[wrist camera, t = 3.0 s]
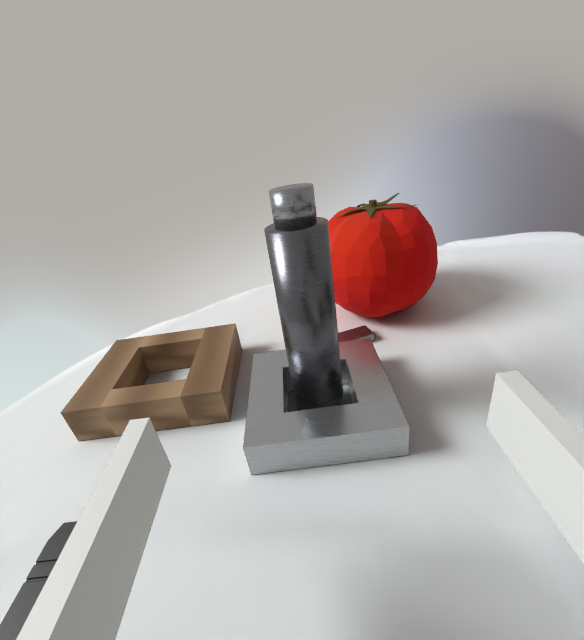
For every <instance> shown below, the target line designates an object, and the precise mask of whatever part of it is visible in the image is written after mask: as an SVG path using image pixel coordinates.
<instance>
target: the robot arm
mask: <svg viewBox="0 0 584 640" xmlns="http://www.w3.org/2000/svg"><path fill="white" fill-rule="evenodd" d="M486 427H487V429H488V430H489V432H490V433H491V434H492V436H493V437H494V439H495V440H496V441H497V443H498V444H499V446H500V447H501V449H502V450H503V451H504V453H505V454H506V456H507V457H508V458H509V460H510V461H511V463H512V464H513V465H514V467H515V468H516V470H517V471H518V472H519V474H520V475H521V477H522V478H523V479H524V481H525V482H526V484H527V485H528V487H529V488H530V489H531V491H532V492H533V494H534V495H535V496H536V498H537V499H538V501H539V502H540V503H541V505H542V506H543V508H544V509H545V510H546V512H547V513H548V515H549V516H550V517H551V519H552V520H553V522H554V523H555V525H556V526H557V527H558V529H559V530H560V532H561V533H562V534H563V536H564V537H565V539H566V540H567V541H568V543H569V544H570V546H571V547H572V548H573V550H574V551H575V553H576V554H577V555H578V557H579V558H580V560H581V561H582V563H583V564H584V436H583V435H582V434H581V433H580V432H579V431H578V430H577V429H576V428H575V427H574V426H573V425H572V424H571V423H570V422H569V421H568V420H567V419H566V418H565V417H564V416H563V415H562V414H561V413H560V412H559V411H558V410H557V409H556V408H555V407H554V406H553V405H552V404H551V403H550V402H549V401H548V400H547V399H546V398H545V397H544V396H543V395H542V394H541V393H540V392H538V391H537V390H536V389H535V388H534V387H533V386H532V385H531V384H530V383H529V382H528V381H527V380H526V379H525V378H524V377H523V376H522V375H521V374H520V373H519V372H518V371H517V370H516V371H508V372H500V373H496V376H495V382H494V387H493V392H492V398H491V403H490V408H489V414H488V419H487V425H486ZM170 468H171V464H170V462H169V460H168V458H167V455H166V453H165V451H164V449H163V447H162V444H161V442H160V440H159V438H158V435H157V433H156V431H155V429H154V427H153V424H152V422H151V420H150V418H142V419H134V420H130V421H129V423H128V425H127V427H126V428H125V430H124V432H123V434H122V436H121V438H120V440H119V442H118V444H117V446H116V448H115V450H114V452H113V454H112V455H111V457H110V459H109V461H108V463H107V465H106V467H105V469H104V471H103V473H102V475H101V477H100V479H99V481H98V482H97V484H96V486H95V488H94V490H93V492H92V494H91V496H90V498H89V500H88V502H87V504H86V506H85V508H84V510H83V511H82V513H81V515H80V517H79V519H78V521H76V522H68V523H63V525H62V526H61V527H60V528H59V529H58V530H57V531H56V532H55V533H54V535H53V536H52V537H51V538H50V539H49V540H48V541H47V543H46V545H45V547H44V548H43V550H42V552H41V554H40V555H39V557H38V559H37V561H36V565H34V566H33V568H32V570H31V571H30V573H29V575H28V577H27V581H26V582H25V583H24V584H23V585H22V587H21V589H20V591H19V593H18V594H17V596H16V598H15V600H14V601H13V603H12V605H11V607H10V608H9V610H8V612H7V614H6V615H5V617H4V619H3V621H2V623H1V624H0V640H115V638H116V635H117V632H118V629H119V626H120V623H121V620H122V616H123V613H124V610H125V607H126V604H127V601H128V598H129V595H130V592H131V589H132V585H133V582H134V579H135V576H136V573H137V570H138V567H139V564H140V561H141V558H142V554H143V551H144V548H145V545H146V542H147V539H148V536H149V533H150V530H151V527H152V523H153V520H154V517H155V514H156V511H157V508H158V505H159V502H160V499H161V496H162V492H163V489H164V486H165V483H166V480H167V477H168V474H169V471H170Z"/></svg>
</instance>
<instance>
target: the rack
mask: <svg viewBox="0 0 584 640" xmlns="http://www.w3.org/2000/svg"><path fill="white" fill-rule="evenodd" d="M241 351H242V347H241V343H240V339H239V335H238V332H237V328H236V324H229V325H222V326H215V327H208V328H201V329H194V330H187V331H180V332H173V333H166V334H159V335H152V336H145V337H138V338H131V339H123V340H117V341H116V342H115V343H114V344H113V346H112V347H111V348H110V350H109V351H108V352H107V353H106V355H105V356H104V357H103V359H102V360H101V361H100V362H99V364H98V365H97V366H96V368H95V369H94V370H93V372H92V373H91V374H90V375H89V377H88V378H87V379H86V381H85V382H84V383H83V384H82V386H81V387H80V388H79V390H78V391H77V392H76V393H75V395H74V396H73V397H72V399H71V400H70V401H69V403H68V404H67V405H66V406H65V408H64V409H63V410H62V412H61V414H62V416H63V417H64V419H65V420H66V422H67V424H68V425H69V427H70V428H71V430H72V432H73V433H74V435H75V436H76V438H77V440H78V441H83V440H90V439H98V438H106V437H113V436H121V435H122V434H123V432H124V430H125V428H126V427H127V425H128V423H129V421H130V420H134V419H142V418H150V420H151V422H152V424H153V427H154V429H155V431H159V430H166V429H174V428H181V427H189V426H197V425H204V424H212V423H219V422H227V421H230V418H231V412H232V406H233V400H234V394H235V388H236V382H237V376H238V369H239V363H240V357H241ZM188 367H191V368H190V371H189V374H188V376H187V379H184V380H177V381H170V382H162V383H155V384H148V385H143V384H144V382H145V381H146V379H147V377H148V375H149V373H152V372H159V371H166V370H173V369H181V368H188Z"/></svg>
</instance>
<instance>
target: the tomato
mask: <svg viewBox="0 0 584 640" xmlns="http://www.w3.org/2000/svg"><path fill="white" fill-rule="evenodd" d="M398 194H399V193H398ZM398 194H396V195H394V196H392V197H391V198H389V199H388V200H386V201H383V202H377V201H376V200H370V201H369V204H360V205H358V206H357V207H348V208H346V209H344V210H341V211H339V212H338V213H337V214H336V215H334V216H333V217H332V218H331V219H330V220H329V221H328V228H329V240H330V251H331V262H332V273H333V284H334V296H335V302H336V303H337V304H339V305H340V306H341V307H343V308H344V309H346V310H348V311H351V312H353V313H356V314H359V315H361V316H364V317H382V316H385V315H388V314H391V313H394V312H397V311H400V310H403V309H406V308H409V307H411V306H412V305H414V304H415V303H416V302H418V301H419V300H420V299H421V298H422V297H423V296H424V295H425V294H426V292H427V291H428V290H429V288H430V287H431V285H432V283H433V281H434V279H435V275H436V269H437V263H438V261H437V242H436V239H435V236H434V233H433V230H432V227H431V226H430V224H429V223H428V221H427V220H426V219H425V217H424V216H423V215H422V213H421V212H420V211H419V210H418V208H417V207H414V206H413V205H409V204H405V203H392V204H386V203H388V202H389V201H391V200H392V199H393V198H394V197H395V196H397V195H398ZM360 206H363V207H360Z"/></svg>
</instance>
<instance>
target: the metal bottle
mask: <svg viewBox="0 0 584 640" xmlns="http://www.w3.org/2000/svg"><path fill="white" fill-rule="evenodd" d="M269 195H270V201H271V208H272V214H273V220H274V223H273V224H271V225H269V226H267V227H266V228H265V236H266V241H267V247H268V253H269V258H270V264H271V269H272V275H273V281H274V286H275V292H276V297H277V303H278V309H279V314H280V320H281V325H282V331H283V336H284V342H285V348H286V353H287V359H288V364H289V370H290V375H291V381H292V386H293V392H294V398H295V403H296V409H297V411H301V410H308V409H316V408H323V407H331V406H339V405H344V396H343V385H342V374H341V363H340V352H339V340H338V329H337V318H336V307H335V296H334V284H333V273H332V262H331V251H330V240H329V228H328V220H327V219H325V218H321V217H316V207H315V198H314V188H313V184H310V183H303V184H292V185H287V186H282V187H277V188H274V189H271V190H269Z"/></svg>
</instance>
